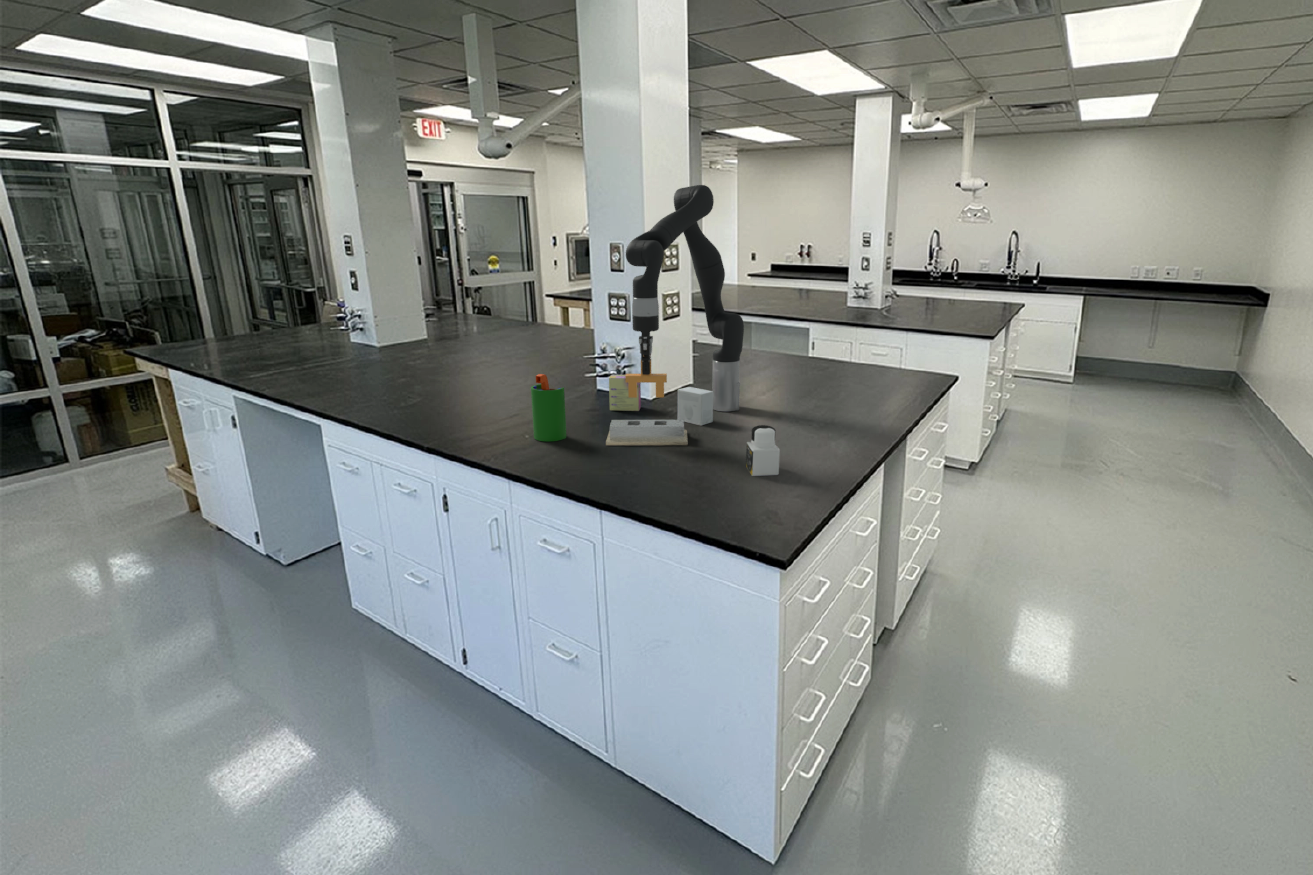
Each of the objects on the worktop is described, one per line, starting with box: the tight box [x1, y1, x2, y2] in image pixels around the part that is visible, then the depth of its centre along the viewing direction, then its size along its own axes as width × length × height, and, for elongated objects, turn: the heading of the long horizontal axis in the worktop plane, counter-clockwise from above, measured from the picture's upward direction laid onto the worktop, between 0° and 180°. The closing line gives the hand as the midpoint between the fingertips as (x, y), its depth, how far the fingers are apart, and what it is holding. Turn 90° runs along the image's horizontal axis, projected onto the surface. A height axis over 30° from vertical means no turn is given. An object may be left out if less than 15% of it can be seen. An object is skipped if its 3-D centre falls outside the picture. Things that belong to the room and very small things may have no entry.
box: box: [608, 374, 642, 412], centre depth 228 cm, size 10×6×12 cm, turn 84°
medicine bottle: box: [745, 424, 781, 477], centre depth 169 cm, size 7×7×12 cm
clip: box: [625, 360, 668, 399], centre depth 191 cm, size 12×3×11 cm, turn 89°
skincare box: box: [676, 386, 714, 427], centre depth 213 cm, size 10×6×10 cm, turn 47°
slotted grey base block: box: [605, 419, 689, 446], centre depth 196 cm, size 24×12×5 cm, turn 89°
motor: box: [530, 373, 567, 442], centre depth 197 cm, size 10×9×20 cm
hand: (646, 373), depth 191 cm, fingers closed on clip, 2 cm apart
